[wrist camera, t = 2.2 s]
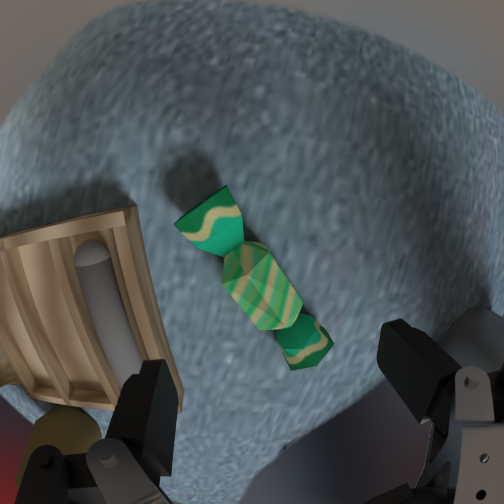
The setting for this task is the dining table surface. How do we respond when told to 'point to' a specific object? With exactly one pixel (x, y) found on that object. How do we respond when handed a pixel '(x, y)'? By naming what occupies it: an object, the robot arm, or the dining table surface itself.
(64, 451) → the squeeze bottle
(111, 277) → the grey capsule rod
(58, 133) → the dining table surface
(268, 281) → the candy
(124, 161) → the dining table surface
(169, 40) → the dining table surface
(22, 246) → the wooden compartment tray
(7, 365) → the hand bell
